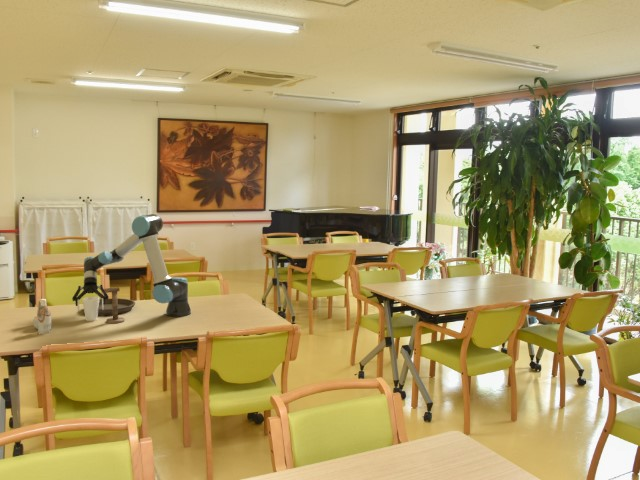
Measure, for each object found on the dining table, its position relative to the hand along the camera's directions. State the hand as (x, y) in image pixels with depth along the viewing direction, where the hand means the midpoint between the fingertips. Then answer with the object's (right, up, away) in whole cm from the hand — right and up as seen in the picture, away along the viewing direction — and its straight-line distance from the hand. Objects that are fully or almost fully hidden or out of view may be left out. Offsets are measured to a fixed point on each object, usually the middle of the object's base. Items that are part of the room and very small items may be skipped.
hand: (90, 309), depth 349 cm
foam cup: (0, -6, +2) cm, 7 cm away
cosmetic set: (-20, -9, -18) cm, 28 cm away
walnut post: (+15, -7, -1) cm, 17 cm away
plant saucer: (+2, -4, +26) cm, 26 cm away
